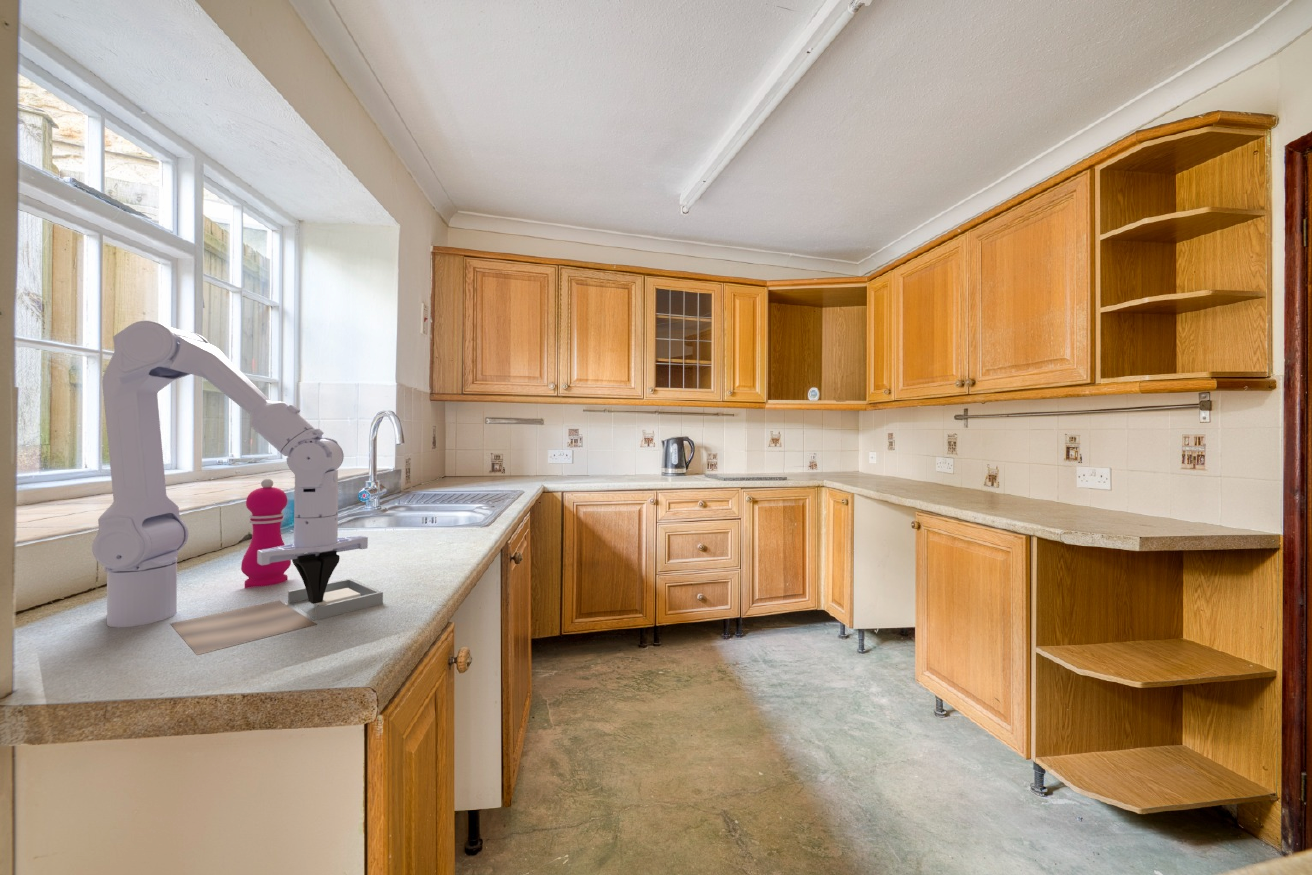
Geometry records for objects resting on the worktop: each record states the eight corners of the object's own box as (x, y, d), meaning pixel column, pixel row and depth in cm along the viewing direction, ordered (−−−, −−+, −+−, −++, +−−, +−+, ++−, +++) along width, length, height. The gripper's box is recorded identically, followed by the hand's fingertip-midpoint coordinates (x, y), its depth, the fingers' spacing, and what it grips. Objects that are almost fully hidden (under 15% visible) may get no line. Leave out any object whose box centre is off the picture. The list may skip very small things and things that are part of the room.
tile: (313, 607, 82) (313, 594, 82) (347, 599, 86) (347, 587, 86) (325, 614, 79) (326, 601, 79) (360, 605, 83) (360, 593, 83)
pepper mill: (250, 596, 88) (251, 481, 88) (234, 589, 92) (235, 478, 92) (297, 586, 94) (298, 478, 94) (280, 579, 98) (281, 476, 98)
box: (283, 610, 81) (283, 591, 81) (351, 595, 89) (351, 578, 89) (311, 629, 74) (312, 608, 74) (382, 610, 82) (382, 592, 82)
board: (170, 631, 72) (170, 623, 72) (279, 607, 83) (279, 600, 83) (196, 664, 63) (197, 654, 63) (317, 632, 73) (317, 624, 73)
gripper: (268, 524, 71) (267, 620, 71) (376, 512, 83) (375, 595, 83) (253, 518, 76) (252, 609, 76) (357, 508, 87) (356, 586, 87)
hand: (315, 601), depth 80 cm, fingers closed
